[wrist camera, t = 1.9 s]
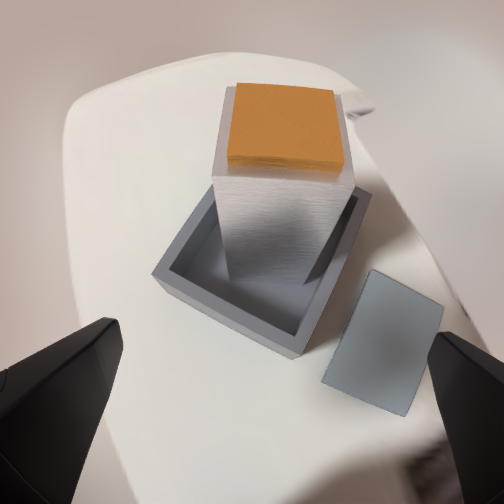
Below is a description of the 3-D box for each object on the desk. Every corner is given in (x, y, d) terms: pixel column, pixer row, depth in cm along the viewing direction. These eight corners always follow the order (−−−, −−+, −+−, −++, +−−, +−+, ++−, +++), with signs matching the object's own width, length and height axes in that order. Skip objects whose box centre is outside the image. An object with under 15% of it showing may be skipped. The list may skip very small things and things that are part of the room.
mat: (401, 416, 19) (404, 416, 19) (320, 381, 20) (322, 381, 20) (441, 309, 22) (444, 307, 22) (369, 271, 23) (371, 269, 23)
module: (302, 285, 22) (360, 176, 10) (229, 281, 22) (209, 165, 10) (302, 220, 24) (342, 85, 12) (235, 216, 24) (226, 76, 12)
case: (291, 359, 21) (301, 355, 17) (166, 291, 23) (151, 274, 19) (355, 220, 25) (371, 194, 21) (246, 170, 27) (246, 138, 23)
